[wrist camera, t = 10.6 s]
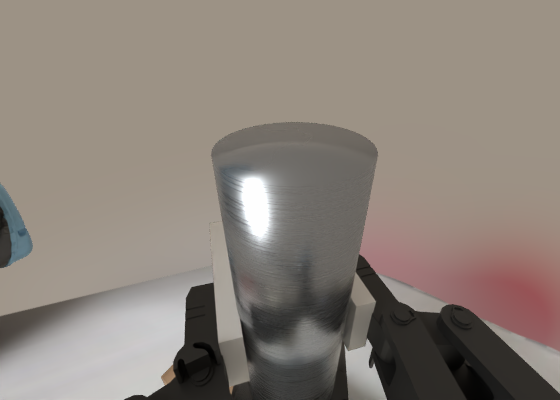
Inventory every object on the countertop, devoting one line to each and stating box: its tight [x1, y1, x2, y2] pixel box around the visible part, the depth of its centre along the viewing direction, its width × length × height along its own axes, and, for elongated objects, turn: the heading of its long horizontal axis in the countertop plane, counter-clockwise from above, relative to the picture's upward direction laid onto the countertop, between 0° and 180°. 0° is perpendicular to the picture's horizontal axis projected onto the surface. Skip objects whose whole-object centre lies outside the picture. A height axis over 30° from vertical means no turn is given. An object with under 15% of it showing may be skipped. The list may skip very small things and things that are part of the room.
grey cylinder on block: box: [211, 122, 378, 400], centre depth 12 cm, size 5×5×18 cm
